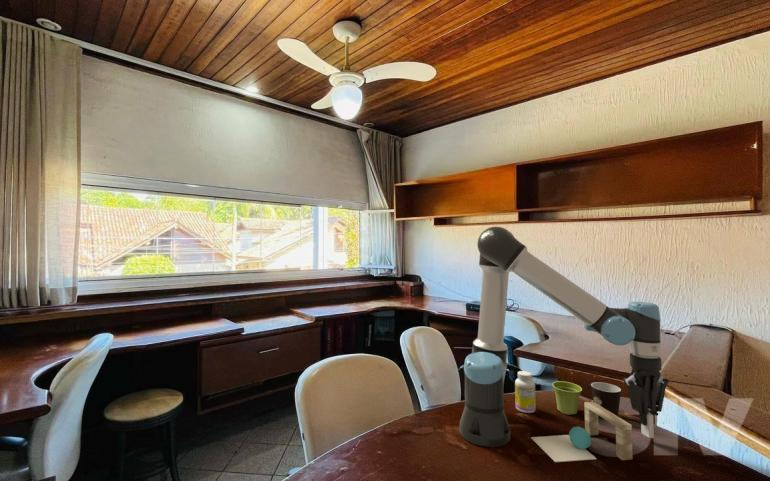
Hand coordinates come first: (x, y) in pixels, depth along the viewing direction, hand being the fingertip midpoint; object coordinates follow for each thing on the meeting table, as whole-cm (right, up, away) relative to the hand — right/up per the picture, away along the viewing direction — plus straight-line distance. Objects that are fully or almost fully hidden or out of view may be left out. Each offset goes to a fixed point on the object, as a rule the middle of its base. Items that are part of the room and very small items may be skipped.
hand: (647, 435), depth 101 cm
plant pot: (-13, -3, +20) cm, 24 cm away
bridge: (-13, -2, -2) cm, 13 cm away
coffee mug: (-2, -3, +17) cm, 17 cm away
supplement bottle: (-27, -3, +21) cm, 35 cm away
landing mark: (-27, -2, -3) cm, 27 cm away
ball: (-21, +1, -3) cm, 22 cm away
